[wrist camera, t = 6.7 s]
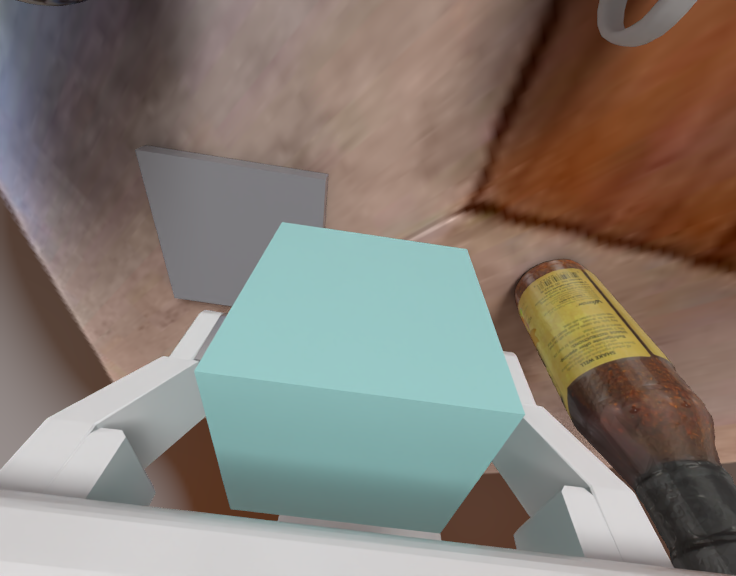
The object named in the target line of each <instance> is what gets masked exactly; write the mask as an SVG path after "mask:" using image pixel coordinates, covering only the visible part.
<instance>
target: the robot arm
mask: <svg viewBox="0 0 736 576" xmlns="http://www.w3.org/2000/svg"><path fill="white" fill-rule="evenodd" d="M227 314H228V313H221V312H215V311H209V310H204V311H202V312H201V313H199V315H198V316H197V318H196V319H195V321H194V322H193V323H192V325H191V326H190V328H189V329H188V330H187V332H186V333H185V335H184V336H183V338H182V339H181V340H180V342H179V343H178V345H177V346H176V348H175V349H174V350H173V352H172V353H171V355H170V356H169V357H167V356H162V357H160V358H158V359H156V360H155V361H153V362H151V363H149V364H147V365H145V366H143V367H142V368H140V369H138V370H136V371H134V372H132V373H130V374H129V375H127V376H125V377H123V378H121V379H119V380H117V381H116V382H114V383H112V384H110V385H108V386H106V387H105V388H103V389H101V390H99V391H97V392H95V393H93V394H91V395H90V396H88V397H86V398H84V399H82V400H81V401H79V402H77V403H75V404H73V405H71V406H69V407H67V408H66V409H64V410H62V411H60V412H58V413H56V414H54V415H53V416H51V417H49V418H47V419H46V420H45V421H44V422H43V423H42V424H41V426H40V427H39V428H38V429H37V430H36V431H35V432H34V433H33V434H32V436H31V437H30V438H29V439H28V440H27V441H26V442H25V443H24V444H23V445H22V446H21V448H20V449H19V450H18V451H17V452H16V453H15V454H14V455H13V456H12V458H11V459H10V460H9V461H8V462H7V463H6V464H5V465H4V466H3V468H2V469H1V470H0V576H736V575H729V574H721V573H712V572H704V571H695V570H687V569H678V568H674V567H673V565H672V563H671V561H670V559H669V557H668V556H667V554H666V552H665V550H664V548H663V546H662V544H661V542H660V540H659V539H658V537H657V535H656V533H655V531H654V529H653V527H652V525H651V524H650V522H649V520H648V518H647V516H646V514H645V512H644V510H643V508H642V507H641V505H640V503H639V501H638V499H637V497H636V495H635V493H634V492H633V491H632V490H631V489H630V488H629V487H628V486H627V485H625V484H624V483H623V482H622V481H621V480H620V479H619V478H618V477H617V476H616V475H615V474H614V473H612V472H611V470H609V469H608V468H607V467H606V466H605V465H604V464H603V463H602V462H601V461H600V460H599V459H598V458H597V457H596V456H595V455H594V454H592V453H591V452H590V451H589V450H588V449H587V448H586V447H585V446H584V445H583V444H582V443H581V442H580V441H579V440H578V439H576V438H575V437H574V436H573V435H572V434H571V433H570V432H569V431H568V430H567V429H566V428H565V427H564V426H563V425H562V424H561V423H559V422H558V421H557V420H556V419H555V418H554V417H553V416H552V415H551V414H550V413H549V412H548V411H547V410H546V409H545V408H543V407H542V406H536V403H535V401H534V398H533V396H532V393H531V391H530V388H529V386H528V383H527V381H526V378H525V376H524V373H523V371H522V368H521V366H520V363H519V361H518V358H517V356H516V355H515V354H514V353H513V352H506V351H503V353H504V356H505V359H506V361H507V364H508V367H509V370H510V373H511V376H512V378H513V381H514V384H515V387H516V390H517V393H518V395H519V398H520V401H521V404H522V407H523V410H524V412H525V416H524V417H523V418H522V420H521V421H520V423H519V424H518V425H517V427H516V428H515V430H514V431H513V432H512V434H511V435H510V437H509V438H508V439H507V441H506V442H505V444H504V445H503V446H502V448H501V449H500V451H499V452H498V453H497V455H496V456H495V458H494V459H493V460H492V462H493V464H494V465H495V467H496V468H497V470H498V471H499V473H500V474H501V475H502V477H503V478H504V480H505V481H506V483H507V484H508V486H509V487H510V489H511V490H512V491H513V493H514V494H515V496H516V497H517V499H518V500H519V501H520V503H521V504H522V506H523V507H524V509H525V510H526V512H527V513H528V515H529V516H530V517H531V518H530V519H528V520H527V521H526V522H525V523H524V524H523V525H522V526H521V527H520V528H519V529H518V530H517V531H516V533H515V534H514V539H515V543H516V547H517V549H508V548H500V547H491V546H482V545H474V544H466V543H457V542H448V541H440V540H432V539H423V538H415V537H406V536H398V535H389V534H381V533H372V532H364V531H355V530H347V529H338V528H330V527H321V526H313V525H304V524H296V523H287V522H279V521H270V520H262V519H253V518H244V517H236V516H227V515H218V514H210V513H202V512H193V511H185V510H176V509H168V508H159V507H151V506H149V505H150V503H151V501H152V499H153V497H154V495H155V490H154V487H153V485H152V483H151V481H150V479H149V478H148V476H147V474H146V472H145V470H144V469H145V468H146V467H147V466H148V465H149V464H151V463H152V462H153V461H154V460H155V459H156V458H158V457H159V456H160V455H161V454H162V453H163V452H165V451H166V450H167V449H168V448H169V447H170V446H172V444H174V443H175V442H176V441H177V440H179V439H180V438H181V437H182V436H183V435H184V434H185V433H187V432H188V431H189V430H190V429H191V428H192V427H194V426H195V425H196V424H197V423H198V422H199V421H201V420H202V419H203V418H204V417H205V416H206V415H205V411H204V407H203V403H202V399H201V396H200V392H199V388H198V384H197V381H196V377H195V373H194V370H195V369H196V367H197V365H198V364H199V362H200V360H201V359H202V357H203V355H204V353H205V352H206V350H207V348H208V347H209V345H210V343H211V342H212V340H213V338H214V336H215V335H216V333H217V331H218V330H219V328H220V326H221V325H222V323H223V321H224V320H225V318H226V316H227Z"/></svg>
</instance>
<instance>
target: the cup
mask: <svg viewBox="0 0 736 576" xmlns="http://www.w3.org/2000/svg"><path fill="white" fill-rule="evenodd" d="M696 1H697V0H659V1H658V2H657V3H656V4H655V5H654V6H653V8H652V9H651V10H650V11H649V12H648V13H647V14H646V15H645V16H644V17H643V18H642V19H641V20H640V21H638V22H637V23H635V24H634V25H632V26H630V27H628V28H626V29H625V27H624V24H623V21H624V11H625V7H626V3H627V0H600V1H599V6H598V10H597V25H598V28H599V31H600V34H601V36H602V37H603V38H605V39H606V40H607V41H609V42H611V43H613V44H616V45H619V46H630V47H636V46H640V45H644V44H647V43H649V42H651V41H652V40H654V39H656V38H658V37H660V36H662V35H663V34H664V33H666V32H667V31H668V30H669V29H670V28H672V27H673V26H674V25H675V24H676V23H677V22H678V21H679V20H680V19H681V18H682V17H683V16H684V15H685V14H686V13H687V12H688V11H689V9H690V8H691V7H692V6H693V5H694V4H695V2H696Z"/></svg>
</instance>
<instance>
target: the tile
mask: <svg viewBox="0 0 736 576" xmlns="http://www.w3.org/2000/svg"><path fill="white" fill-rule="evenodd" d="M135 152H136V155H137V159H138V163H139V167H140V170H141V174H142V178H143V182H144V185H145V189H146V193H147V196H148V200H149V204H150V208H151V211H152V215H153V219H154V223H155V226H156V230H157V234H158V237H159V241H160V245H161V249H162V252H163V256H164V260H165V264H166V267H167V271H168V275H169V278H170V282H171V286H172V290H173V293H174V297H175V298H179V299H186V300H193V301H199V302H206V303H213V304H220V305H227V306H233V304H234V303H235V301H236V299H237V298H238V296H239V294H240V292H241V291H242V289H243V287H244V286H245V284H246V282H247V281H248V279H249V277H250V276H251V274H252V272H253V270H254V269H255V267H256V265H257V264H258V262H259V260H260V259H261V257H262V255H263V253H264V252H265V250H266V248H267V247H268V245H269V243H270V242H271V240H272V238H273V237H274V235H275V233H276V231H277V230H278V228H279V226H280V225H281V223H282V222H285V223H292V224H299V225H306V226H313V227H319V228H325V220H326V205H327V190H328V174H324V173H317V172H311V171H305V170H299V169H292V168H286V167H280V166H274V165H267V164H261V163H255V162H248V161H242V160H236V159H230V158H223V157H217V156H211V155H204V154H198V153H192V152H186V151H179V150H173V149H167V148H160V147H154V146H148V145H145V146H142V147H140V148H138V149H136V150H135Z"/></svg>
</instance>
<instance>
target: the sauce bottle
mask: <svg viewBox="0 0 736 576" xmlns="http://www.w3.org/2000/svg"><path fill="white" fill-rule="evenodd" d="M515 298H516V304H517V307H518V310H519V315H520V317H521V319H522V321H523V323H524V325H525V327H526V329H527V331H528V333H529V335H530V337H531V339H532V341H533V343H534V345H535V347H536V349H537V351H538V353H539V356H540V358H541V360H542V362H543V364H544V365H545V367H546V369H547V372H548V374H549V376H550V378H551V380H552V382H553V384H554V385H555V388H556V390H557V392H558V394H559V396H560V398H561V400H562V402H563V404H564V406H565V408H566V410H567V412H568V414H569V416H570V418H571V420H572V422H573V424H574V426H575V427H576V428H577V430H578V431H579V432H580V433H581V434H582V435H583V436H584V437H585V438H586V439H587V440H588V442H589V443H590V444H591V445H592V446H593V447H594V448H595V449H596V450H597V451H598V452H599V453H600V454H601V455H602V456H603V457H604V458H605V459H606V460H607V461H608V463H609V464H610V465H611V466H612V467H613V468H614V469H615V470H616V471H617V472H618V473H619V474H620V475H621V476H622V477H623V478H624V479H625V480H626V482H627V483H628V484H629V485H630V486H631V487H632V488H633V489H634V490H635V492H636V494H637V496H638V498H639V500H640V501H641V502H642V503H643V504H644V506H645V508H646V510H647V511H648V513H649V515H650V517H651V519H652V521H653V522H654V524H655V525H656V528H657V530H658V532H659V534H660V535H661V536H662V539H663V540H664V541H665V543H666V545H667V548H668V549H669V551H670V558H671V563H672V565H673V567H674V568H678V569H687V570H695V571H704V572H712V573H721V574H729V575H736V486H735V485H734V482H733V479H732V477H731V476H730V475H729V473H728V472H726V470H725V469H724V468H723V467H722V465H721V463H720V461H719V457H718V453H717V451H716V448H715V435H714V422H713V419H712V416H711V415H710V414H709V412H708V411H707V409H706V407H705V405H704V403H703V402H702V401H701V400H700V399H699V398H698V396H697V395H696V394H695V393H694V392H693V391H692V390H691V388H690V387H689V386H688V385H687V384H686V382H685V381H684V380H683V379H682V378H681V377H680V376H679V375H678V374H677V372H676V370H675V367H674V366H673V364H672V363H671V362H670V361H669V360H668V358H667V357H666V356H665V355H664V354H663V353H662V352H661V350H660V349H659V348H658V347H657V346H656V345H655V344H654V342H653V341H652V340H651V339H650V338H649V337H648V336H647V334H646V333H645V332H644V331H643V330H642V329H641V328H640V326H639V325H638V324H637V323H636V322H635V321H634V320H633V318H632V317H631V316H630V315H629V314H628V313H627V312H626V311H625V309H624V308H623V307H622V306H621V305H620V304H619V303H618V301H617V300H616V299H615V298H614V297H613V296H612V295H611V293H610V292H609V291H608V290H607V289H606V288H605V287H604V285H603V284H602V283H601V282H600V281H599V280H598V279H597V277H596V276H595V275H594V274H592V273H591V272H590V271H588V270H587V269H586V268H585V267H583V266H582V265H580V264H578V263H576V262H574V261H572V260H568V259H557V260H552V261H547V262H543V263H541V264H539V265H536V266H535V267H533V268H532V269H530V270H528V271H527V273H526V274H524V276H522V278H521V280H520V281H519V282H518V284H517V286H516V289H515Z"/></svg>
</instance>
